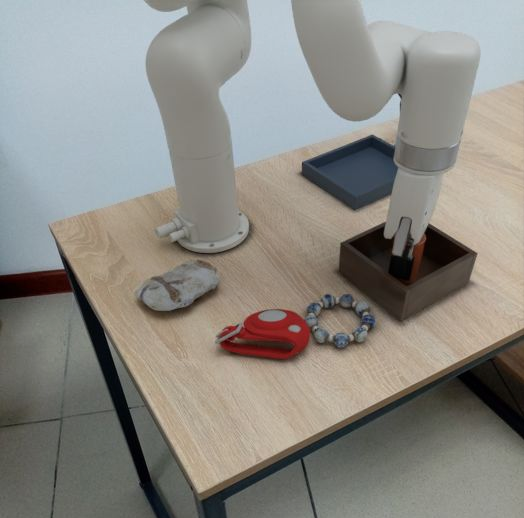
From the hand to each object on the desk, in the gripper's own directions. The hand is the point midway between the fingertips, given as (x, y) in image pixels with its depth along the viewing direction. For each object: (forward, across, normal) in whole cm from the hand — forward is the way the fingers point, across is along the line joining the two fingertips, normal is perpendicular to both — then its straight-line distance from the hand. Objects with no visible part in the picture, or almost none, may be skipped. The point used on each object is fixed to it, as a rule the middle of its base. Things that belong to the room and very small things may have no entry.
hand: (404, 265), depth 78 cm
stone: (+2, +17, -29) cm, 34 cm away
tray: (+2, -26, -15) cm, 30 cm away
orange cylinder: (+2, 0, 0) cm, 2 cm away
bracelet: (+2, +13, -5) cm, 14 cm away
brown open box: (+2, 0, 0) cm, 2 cm away
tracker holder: (+2, +20, -14) cm, 24 cm away
